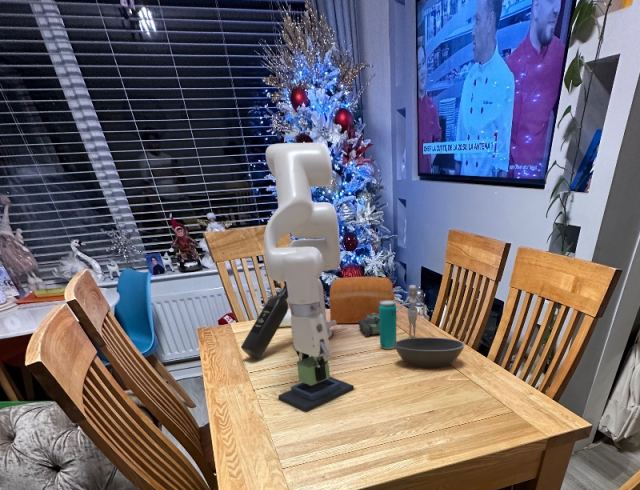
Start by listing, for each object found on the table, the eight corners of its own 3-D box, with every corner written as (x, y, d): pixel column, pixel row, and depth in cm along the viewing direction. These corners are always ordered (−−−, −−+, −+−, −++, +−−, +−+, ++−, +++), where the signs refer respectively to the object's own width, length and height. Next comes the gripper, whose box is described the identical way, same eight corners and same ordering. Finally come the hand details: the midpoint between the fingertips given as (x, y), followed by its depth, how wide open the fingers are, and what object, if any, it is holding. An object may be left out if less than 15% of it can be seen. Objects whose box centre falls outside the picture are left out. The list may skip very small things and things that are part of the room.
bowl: (463, 371, 132) (465, 351, 129) (392, 370, 135) (392, 350, 131) (462, 356, 142) (464, 337, 138) (396, 355, 144) (396, 337, 140)
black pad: (326, 378, 131) (325, 369, 129) (353, 389, 125) (353, 380, 123) (278, 399, 121) (276, 390, 119) (306, 411, 114) (304, 402, 113)
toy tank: (383, 325, 169) (382, 307, 165) (392, 335, 160) (392, 316, 156) (358, 329, 167) (357, 310, 163) (366, 338, 158) (365, 319, 154)
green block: (318, 373, 123) (316, 354, 120) (330, 377, 120) (328, 358, 117) (299, 381, 119) (296, 361, 116) (311, 385, 116) (308, 366, 113)
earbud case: (271, 321, 178) (269, 308, 174) (303, 319, 179) (301, 306, 175) (269, 329, 170) (267, 315, 166) (302, 327, 171) (300, 313, 167)
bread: (394, 323, 171) (394, 280, 161) (329, 324, 172) (325, 282, 162) (395, 313, 182) (394, 272, 172) (333, 314, 183) (330, 274, 173)
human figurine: (396, 341, 155) (395, 287, 144) (395, 337, 158) (394, 284, 147) (429, 339, 156) (431, 285, 144) (427, 336, 159) (429, 283, 147)
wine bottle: (250, 350, 139) (293, 275, 143) (239, 347, 142) (281, 273, 146) (261, 360, 144) (302, 287, 148) (249, 357, 147) (290, 285, 151)
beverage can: (399, 345, 152) (398, 300, 142) (392, 351, 148) (391, 305, 138) (384, 343, 154) (383, 299, 144) (377, 348, 150) (375, 303, 140)
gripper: (339, 311, 106) (345, 381, 117) (295, 300, 115) (305, 366, 126) (316, 318, 101) (324, 390, 113) (273, 306, 111) (285, 374, 122)
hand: (314, 376), depth 119 cm, fingers closed on green block, 5 cm apart
